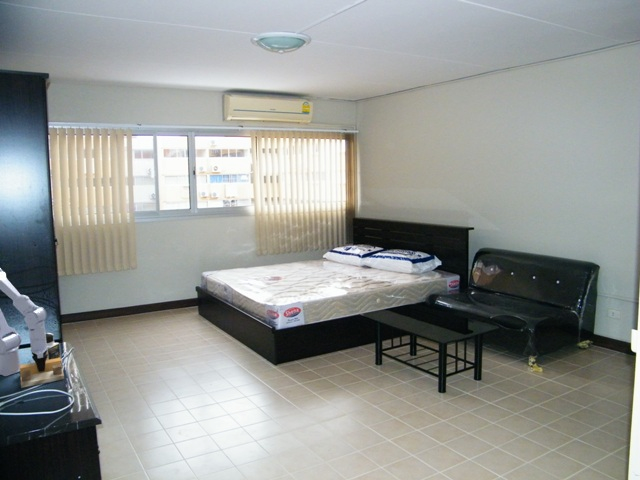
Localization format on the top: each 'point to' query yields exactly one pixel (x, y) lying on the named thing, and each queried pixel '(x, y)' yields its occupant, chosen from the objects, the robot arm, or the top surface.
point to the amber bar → (34, 369)
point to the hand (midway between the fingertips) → (41, 369)
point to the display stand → (41, 377)
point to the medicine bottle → (52, 347)
